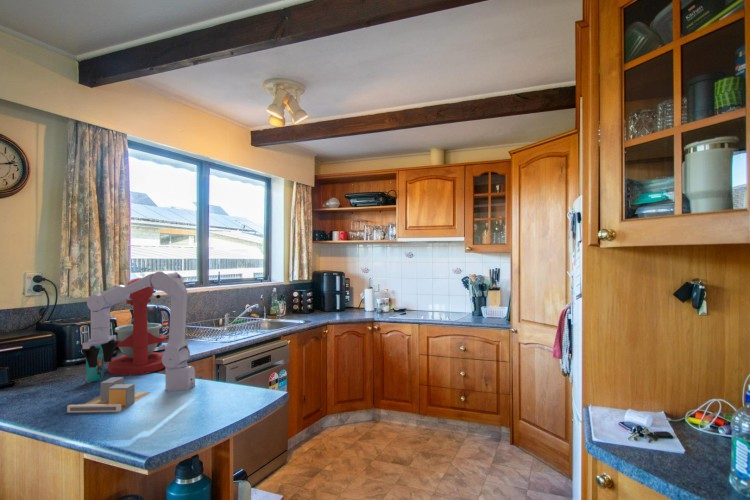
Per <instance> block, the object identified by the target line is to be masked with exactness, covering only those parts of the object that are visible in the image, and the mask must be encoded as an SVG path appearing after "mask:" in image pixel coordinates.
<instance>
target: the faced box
mask: <svg viewBox="0 0 750 500" xmlns="http://www.w3.org/2000/svg"><path fill="white" fill-rule="evenodd" d="M135 386H136V385H135V383H124V384H116V385H114V386H112V387H110V388H108V404H121V407H126V408H127V407H128V408H129V405H130V406H131V405H133V404H135V403H136V402H135V392H136V391H135ZM134 402H135V403H134Z"/></svg>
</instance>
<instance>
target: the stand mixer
mask: <svg viewBox="0 0 750 500" xmlns="http://www.w3.org/2000/svg"><path fill="white" fill-rule="evenodd" d="M141 278H142V277H137V278H134V279H131V280H130V281H129V282H127V284H126V286H127V285H129V284H131V283H133V282H135V281H137V280H139V279H141ZM154 292H155V291H154V286H153V287H149V286H148V287H146V288H143V289H141V290H138V291H136V292H133V293H131V294H130V296H129V298H128V299H126V304H128V305H130V306H132V307H133V308H132V309H133V318H132V319H131V320H130V321H129V322H128V323H127V324H125V325H120V326H117V327H115V328H114V333H116V341H117V342H118V345H117V346H116V348H119V351H120V352H121V353H122V354H123V355H122V356H119V357H116V358H114V359H113V358H112V359H111V362H107V364H108V365H107V372H108V373H109V374H111V375H115V376H137V375H145V374H150V373H154V372H158V371H160V370H162V369H165V366H164V365H163V363H162V356H163V354H164V353H162V352H154V351H155V349H157V346H158V344H159V343H163V342H165V341H166V340H167V339H166V338H167V337H166V335H165V334H164V333H162V332H160V331H161V328H162V327H163V325H162V324H161V323H156V322H149V320H148V304H149V303H151V302H152V301H151V300H153V299H154V298H156V299H160V298H161V295H160V294H156V295H155V293H154Z"/></svg>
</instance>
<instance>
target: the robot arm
mask: <svg viewBox="0 0 750 500" xmlns="http://www.w3.org/2000/svg"><path fill="white" fill-rule="evenodd" d="M140 278H141V279H139V280H137V281H135V282H133V283H131V284H129V285H127V284H126V285H125V284H115V285H113V286H112V288H110V289H108V290H103V291H101V292H100V294H92V295H91V296H90V297H88V298H87V301H86V306H87V308H88V309H89V310H90V339H88V340H87V341H86V342H83V343H82V347H81V349H80V352H81V353H82V354H83V355H84V357H85V360H86V359H87V362H88V365H89V368H95V367H96V365H97V357H98V353H99V350H100V348H96V347H95V346H98V345H101V347H102V350H103V356H104V363H109V362H111V361H112V360H113V355H114V352H115V350H116V348H117V347H116V346H117V345H118V342H117V341H116V339H117V334H115V335H111V333H110V332H111V331H110V330H111V329H110V326H111V325H110V323H111V321H110V315H111V314H110V312H111V308H112V306H115V305H117V304H119V303H121V302H124V301H125V300H126V299H128V298H129V296H130V294H131V293H133V292H136V291H138V290H141V289H143V288H146V287H148V286H149V287H153V288H155V289H157V290H159V291H162V292H164V293H165V294H167V295H168V296H169V297H170V310H169V312H170V313H169V327H168V328H169V330H168V341H167V343H166V346H165V347H164V353H163V356H162V363H163V365H164V366H165V368H164V370H165V373H164V374H165V379H164V380H165V390H166V391H169V392H170V391H171V392H172V391H189V390H190V389H191V388H193V387H194V386H195V385H196V370H195V367H194V366H192V365H188V359H189V358H190V356H191V350H190V348H189V343H188V342H189V341H187V339H186V328H187V327H186V326H187V309H188V308H187V307H188V290H187V287H186V286H185V284H184V281H183V276H182V275H181V274H180V273H178V272H177V271H175V270H166V271H161V270H160V271H156V272H154V273H150V274H148V275H146V276H143V277H140Z"/></svg>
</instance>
